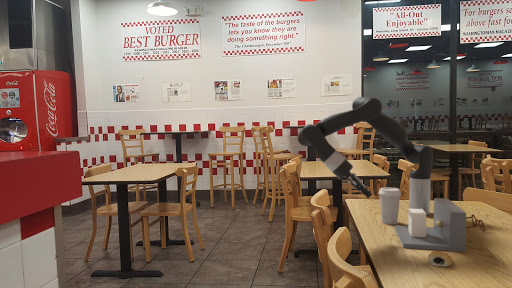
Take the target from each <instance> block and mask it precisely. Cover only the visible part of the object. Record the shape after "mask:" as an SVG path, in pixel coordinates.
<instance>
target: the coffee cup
mask: <svg viewBox="0 0 512 288" xmlns="http://www.w3.org/2000/svg"><path fill="white" fill-rule="evenodd" d="M378 195H379V203H380V215H381V223H382V224H386V225H398V221H399V211H400V210H399V209H400V200H401V195H402V192H401V190H400V189H399V188H397V187H380V189H379V190H378Z"/></svg>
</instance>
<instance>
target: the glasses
mask: <svg viewBox="0 0 512 288" xmlns="http://www.w3.org/2000/svg"><path fill="white" fill-rule="evenodd" d="M468 219H471V221H472V222H471V223H472V224H473V225H469V226H467V225H466V229H471V228H479V229H480V231H482V232H483V231H484V232H485V231H486V227H485V224H484V221H483V220H481V219H477V218H476V216H475V214H471V216H466V220H468ZM477 222H478V223H477ZM482 227H483V228H482Z"/></svg>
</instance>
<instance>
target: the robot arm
mask: <svg viewBox="0 0 512 288" xmlns="http://www.w3.org/2000/svg"><path fill="white" fill-rule="evenodd" d="M351 105H352V107H351V110H347V111H343V112H339V113H334V114H331V115H330V116H327V117H325V118H323V119H321V120H318V122H317V123H316V124H312V123H310V124H309V123H308V124H305V126H304V127H302V129H301V130H300V131H299V133H298V135H297V142H298V143H299V145H301V146H303V147H309V146H313V148H314V154H315V155H316V157H317V158H318V159H319V160H320V161H321V162H322V163H323V164H324V165H325V167H326V168H327V169H328V170H330V172H331V173H332V174H333V175H334V176H335V177H337V179H338V180H342V179H343V178H346V181H347V183H348V184H349V185H351V186H352V187H353V188H355V189H356V190H357V191H358V192H361V193H362V194H363V195H364V196H365V197H366V198H367V199H369V198H370V197H372V195H373V194H372V192H371V191H370V190H368V188H367V187H366V186H365V184H364V182H362V180H361V179H360V178H359V176H357V174H356V173H355V172H351V170H353V168H354V166H353V164H352V163H350V162H349V160H347V158H346V157H345V156H344V155H342V153H340V152H339V151H338V150H336V148H334V147H333V145H331V144H330V143H329V142H328V140H327V138H326V137H328V136H330V135H333V134H335V133H337V132H339V131H341V130H343V129H345V128H348V127H350V126H353V125H356V124H358V123H361V122H365V123H367V124H368V125H369V126H371V128H373V129H374V130H375V131H376V132H377V133H378V134H380V135H381V136H382V138H384V139H385V141H388V143H389V144H391V145H392V146H393V147H394V148H396V150H397V151H398V152H399V153H401V155H402V156H403V157H404V158H405V159H406V160H407V161H408V162H409V163H412V164H416V165H417V164H418V168H417V169H415V170H412V171H410V172H409V203H408V204H409V206H408V207H409V208H408V210H409V209H423V210H424V212H425V213H426V216H428V215H430V214H431V178H432V177H431V175H432V173H433V162H434V160H433V159H434V151H433V148H432V147H431V146H429V145H427V144H426V145H425V144H414V143H413V142H411V141H410V140H409V139H408V132H407V130H406V129H405V127H404V126H403V125H401V124H400V123H399V122H398V121H397V120H395V119H394V118H392V117H390V116H388V115H386V114H384V113H383V112H382V109H383V105H382V102H381V101H380V99H378V98H376V97H372V96H358V97H356V98H355V99H354V100H353V101H352V104H351Z"/></svg>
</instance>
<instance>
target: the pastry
mask: <svg viewBox="0 0 512 288" xmlns="http://www.w3.org/2000/svg"><path fill="white" fill-rule="evenodd" d="M427 262H428V264H429V265H430V266H435V267H444V268H448V267H451V266H452V264H453V259H452V256H451V255H450V254H449V253H447V252H445V251H443V250H433V251H431V252H430V253H429V254H428V257H427Z"/></svg>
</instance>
